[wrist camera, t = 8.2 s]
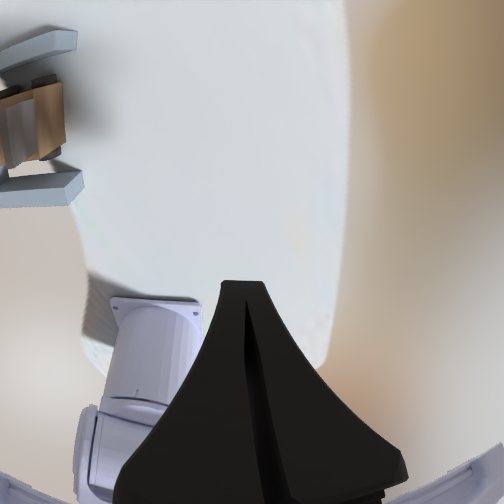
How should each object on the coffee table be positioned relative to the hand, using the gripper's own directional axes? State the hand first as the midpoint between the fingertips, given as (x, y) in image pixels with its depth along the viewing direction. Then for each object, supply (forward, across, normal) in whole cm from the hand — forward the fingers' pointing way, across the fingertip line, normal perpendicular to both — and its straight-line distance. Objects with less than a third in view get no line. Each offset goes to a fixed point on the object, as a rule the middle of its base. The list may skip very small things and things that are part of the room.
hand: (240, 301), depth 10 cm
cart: (+10, +14, -5) cm, 17 cm away
